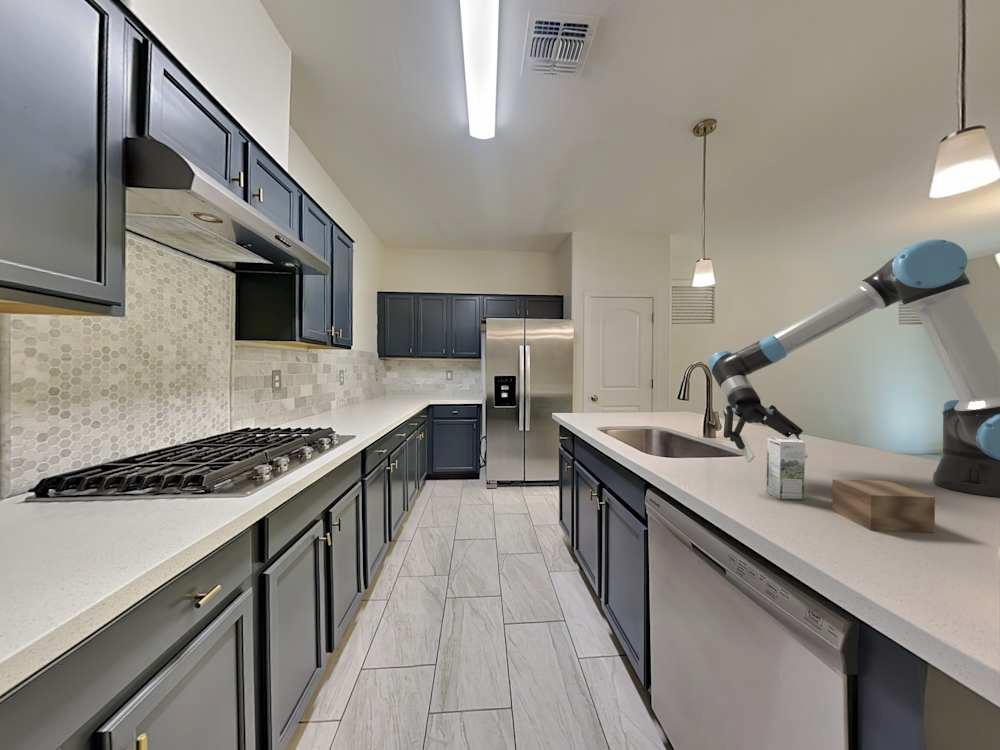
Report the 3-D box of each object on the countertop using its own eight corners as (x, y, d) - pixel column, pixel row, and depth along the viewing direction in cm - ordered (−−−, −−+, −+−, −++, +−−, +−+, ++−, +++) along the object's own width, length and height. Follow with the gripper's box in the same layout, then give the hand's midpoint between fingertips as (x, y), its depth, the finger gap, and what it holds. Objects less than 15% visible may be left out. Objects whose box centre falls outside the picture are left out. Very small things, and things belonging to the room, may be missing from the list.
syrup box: (789, 493, 101) (790, 436, 101) (805, 500, 95) (805, 440, 95) (766, 492, 102) (766, 436, 102) (780, 500, 96) (780, 440, 96)
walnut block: (887, 512, 88) (887, 480, 87) (934, 533, 77) (934, 497, 76) (832, 510, 89) (832, 479, 89) (870, 530, 78) (871, 495, 78)
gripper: (775, 402, 118) (817, 465, 103) (693, 403, 117) (723, 467, 102) (789, 385, 112) (835, 449, 98) (703, 386, 111) (736, 451, 97)
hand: (778, 459), depth 100 cm, fingers open, 13 cm apart
